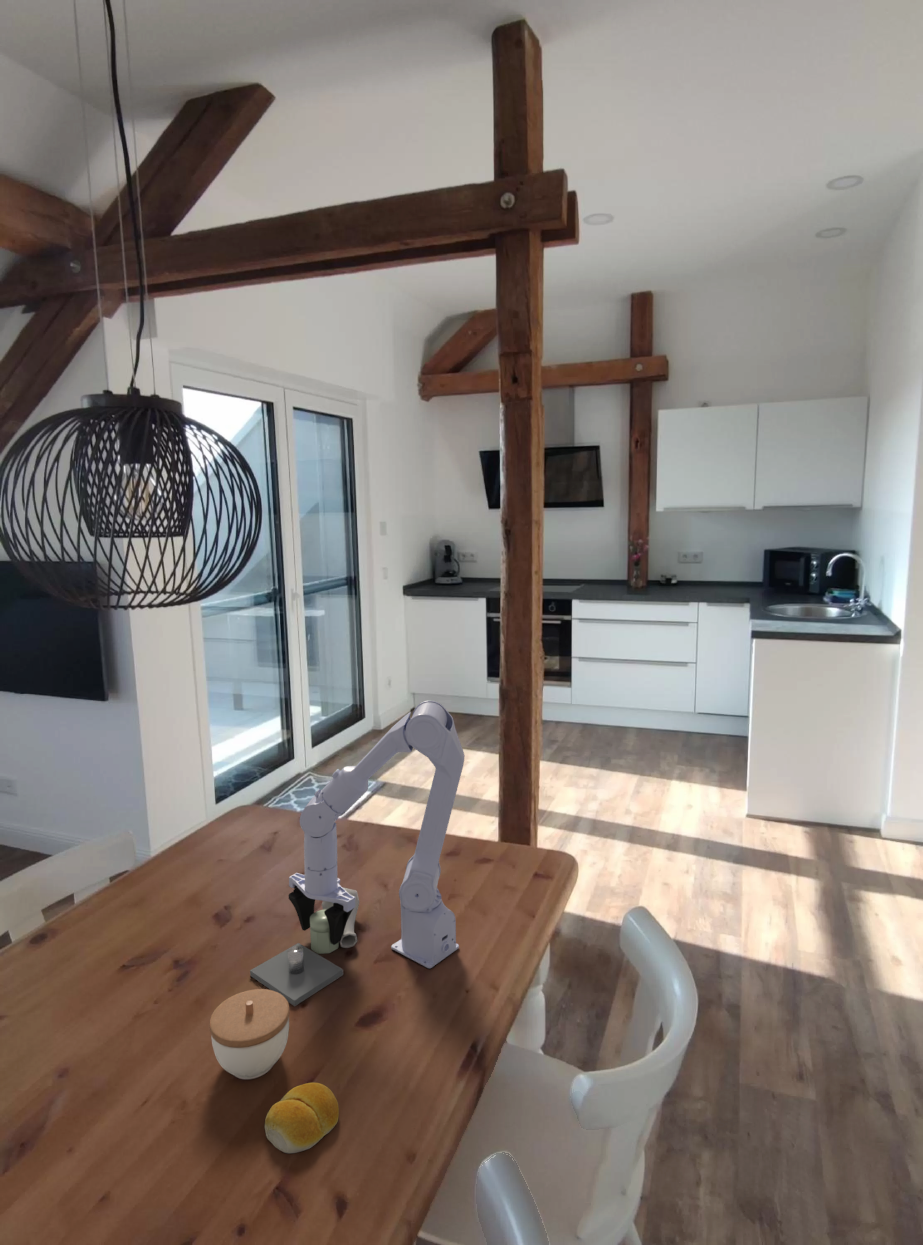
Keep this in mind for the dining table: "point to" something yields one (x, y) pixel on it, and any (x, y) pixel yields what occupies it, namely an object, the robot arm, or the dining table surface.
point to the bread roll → (302, 1117)
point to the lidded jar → (250, 1032)
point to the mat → (299, 985)
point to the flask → (348, 935)
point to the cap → (321, 933)
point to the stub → (296, 960)
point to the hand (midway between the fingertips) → (321, 934)
